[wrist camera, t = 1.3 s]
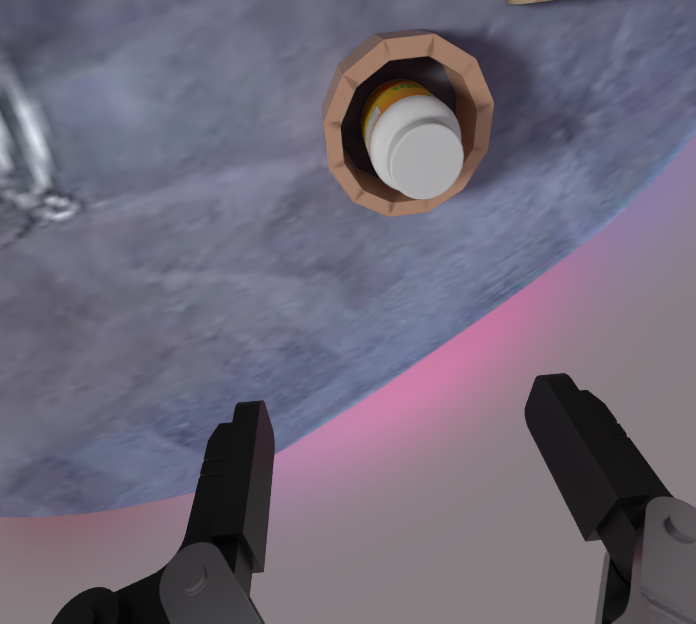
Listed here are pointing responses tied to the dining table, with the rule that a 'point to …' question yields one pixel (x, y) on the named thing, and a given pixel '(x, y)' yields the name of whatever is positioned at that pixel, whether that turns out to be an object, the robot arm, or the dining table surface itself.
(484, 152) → the holder ring
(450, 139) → the supplement bottle
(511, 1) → the tray
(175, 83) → the dining table surface
